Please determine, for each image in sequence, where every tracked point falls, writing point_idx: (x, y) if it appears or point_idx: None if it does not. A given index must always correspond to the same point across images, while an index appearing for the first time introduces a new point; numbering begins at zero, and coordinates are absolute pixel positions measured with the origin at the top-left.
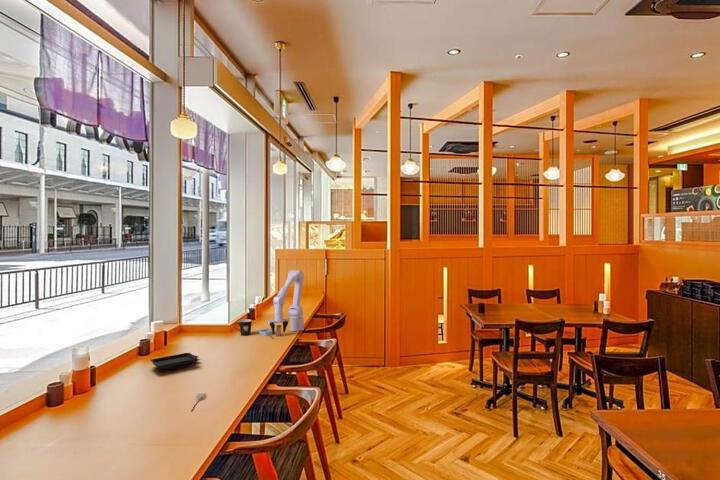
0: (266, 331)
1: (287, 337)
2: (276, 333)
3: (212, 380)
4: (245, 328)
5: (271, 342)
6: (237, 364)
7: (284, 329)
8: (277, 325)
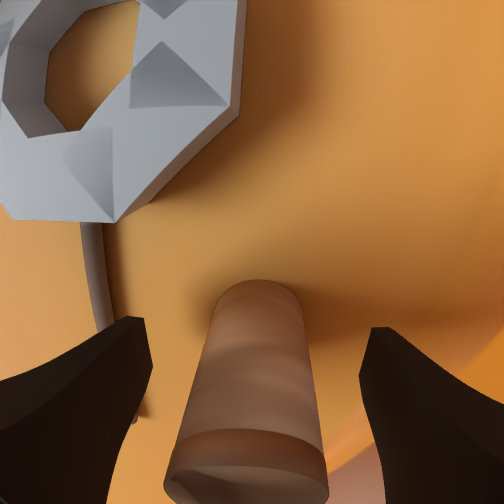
0: (29, 154)
1: None
2: (208, 331)
3: None
4: None
5: None
6: None
7: (373, 432)
8: (210, 478)
